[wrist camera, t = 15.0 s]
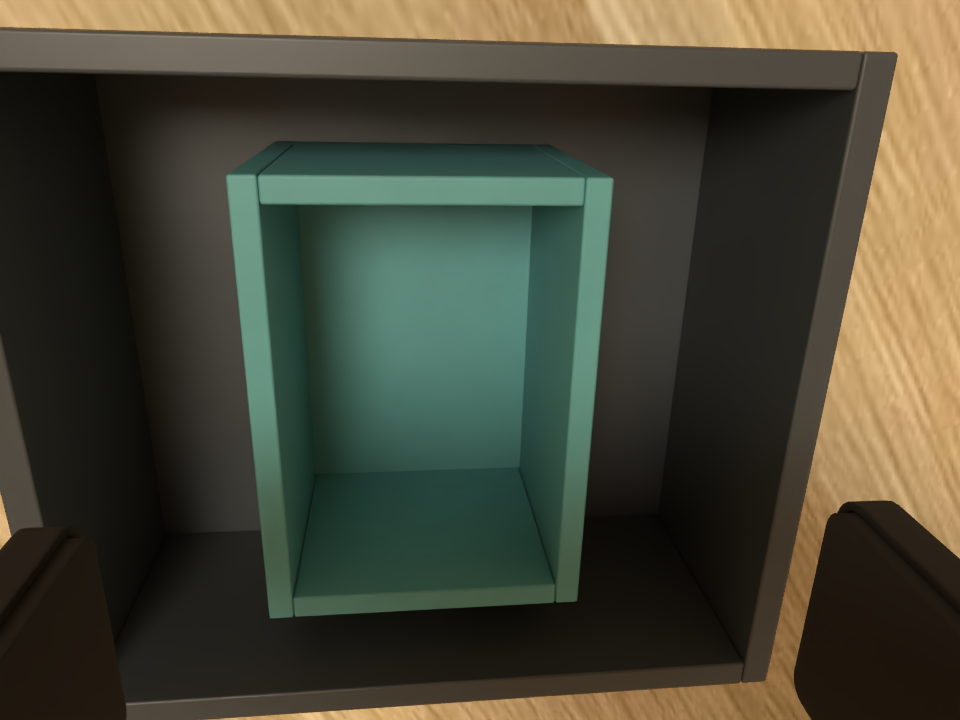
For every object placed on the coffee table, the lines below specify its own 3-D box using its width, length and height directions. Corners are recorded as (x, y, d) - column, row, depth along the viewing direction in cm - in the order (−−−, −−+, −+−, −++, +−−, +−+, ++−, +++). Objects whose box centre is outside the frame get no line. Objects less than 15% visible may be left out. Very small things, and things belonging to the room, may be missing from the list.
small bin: (552, 144, 18) (615, 177, 13) (533, 473, 21) (577, 602, 16) (274, 140, 17) (224, 174, 12) (299, 481, 21) (269, 619, 15)
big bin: (732, 54, 18) (900, 52, 12) (668, 520, 23) (766, 682, 17) (69, 37, 16) (-116, 23, 10) (152, 542, 21) (57, 731, 15)
